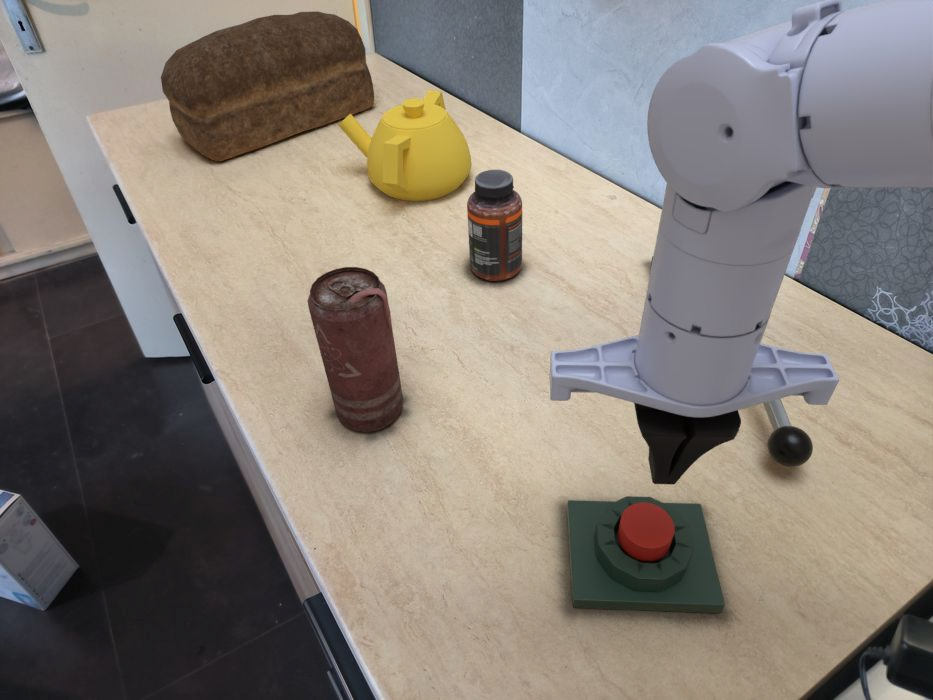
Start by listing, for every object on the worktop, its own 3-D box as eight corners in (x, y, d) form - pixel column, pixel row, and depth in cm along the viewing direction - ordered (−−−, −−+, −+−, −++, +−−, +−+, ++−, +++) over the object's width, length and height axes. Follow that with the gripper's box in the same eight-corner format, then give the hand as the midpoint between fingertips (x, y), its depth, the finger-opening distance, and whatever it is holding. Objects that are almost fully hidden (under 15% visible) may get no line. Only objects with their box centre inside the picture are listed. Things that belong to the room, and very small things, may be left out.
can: (402, 435, 57) (382, 311, 47) (330, 434, 57) (296, 311, 48) (410, 385, 61) (393, 262, 52) (344, 384, 62) (314, 263, 52)
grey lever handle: (809, 473, 51) (826, 453, 49) (769, 475, 51) (783, 455, 49) (714, 240, 68) (723, 216, 65) (684, 241, 68) (691, 217, 65)
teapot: (372, 141, 100) (362, 68, 93) (488, 151, 96) (486, 75, 89) (317, 207, 86) (299, 127, 79) (449, 222, 82) (443, 139, 75)
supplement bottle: (524, 255, 76) (527, 165, 69) (518, 285, 72) (519, 193, 64) (474, 251, 77) (471, 162, 70) (465, 281, 73) (460, 190, 65)
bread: (171, 139, 104) (132, 34, 93) (340, 84, 118) (323, -13, 108) (209, 170, 95) (171, 58, 85) (386, 106, 110) (373, 4, 99)
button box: (697, 512, 50) (705, 489, 48) (721, 613, 44) (731, 592, 42) (566, 508, 51) (569, 485, 49) (572, 608, 45) (575, 587, 43)
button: (665, 516, 47) (669, 502, 46) (674, 562, 44) (679, 549, 43) (615, 515, 47) (617, 501, 46) (620, 560, 45) (623, 547, 43)
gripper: (835, 251, 34) (764, 424, 43) (552, 251, 35) (542, 420, 44) (892, 343, 28) (797, 516, 38) (558, 339, 29) (545, 509, 39)
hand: (661, 471), depth 40 cm, fingers closed
